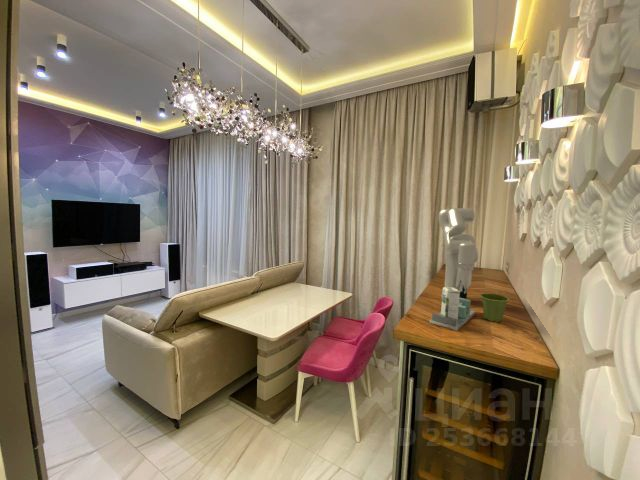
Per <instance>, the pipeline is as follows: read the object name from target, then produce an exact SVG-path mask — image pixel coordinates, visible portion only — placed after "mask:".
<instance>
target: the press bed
mask: <svg viewBox="0 0 640 480" xmlns="http://www.w3.org/2000/svg"><path fill="white" fill-rule="evenodd" d="M474 314H476V311H475V310H471V309H470V312H466V317H465V318H461V317H458V320H457V319H455V318H451V317H447V316H443V315H441V311H440V312H439V313H436V312H433V313H432V314H431V318H430V319H429V324H433V325H435V326H440V327H443V328H446V329H450V330H453V331H459V329H461V328H462V327H463V326H464V324H466V323H467V322H468V321H469V320H470V319H472V317H474V316H475V315H474Z"/></svg>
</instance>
